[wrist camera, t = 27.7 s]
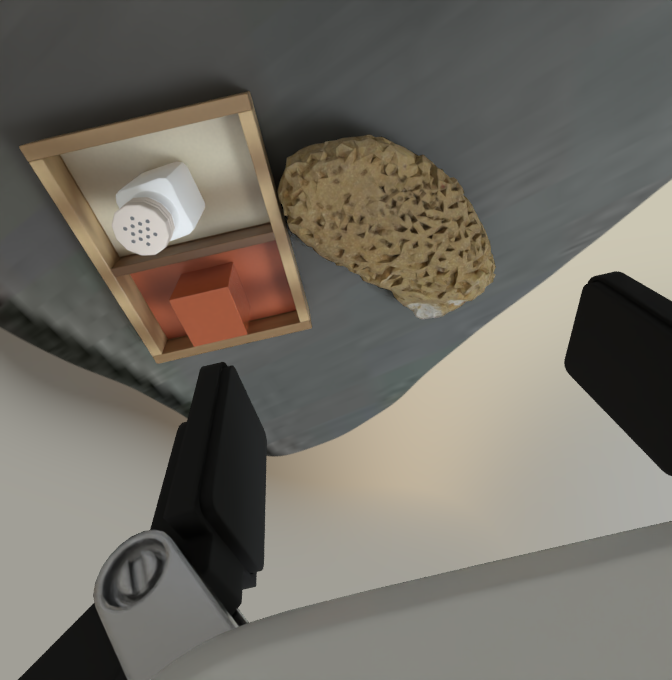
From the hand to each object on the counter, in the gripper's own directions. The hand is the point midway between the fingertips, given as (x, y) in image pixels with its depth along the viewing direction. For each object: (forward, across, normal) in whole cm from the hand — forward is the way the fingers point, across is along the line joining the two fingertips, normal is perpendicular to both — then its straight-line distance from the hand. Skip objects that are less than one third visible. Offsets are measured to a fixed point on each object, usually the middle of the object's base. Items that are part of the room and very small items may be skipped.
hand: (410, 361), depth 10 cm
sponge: (+26, -5, +6) cm, 28 cm away
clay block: (+26, +12, +9) cm, 30 cm away
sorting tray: (+26, +12, +4) cm, 29 cm away
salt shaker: (+26, +12, -1) cm, 28 cm away
